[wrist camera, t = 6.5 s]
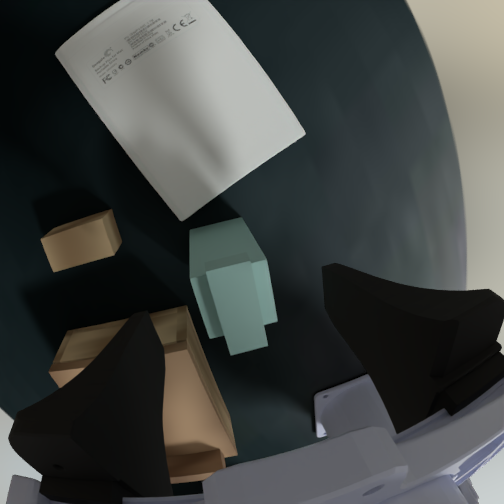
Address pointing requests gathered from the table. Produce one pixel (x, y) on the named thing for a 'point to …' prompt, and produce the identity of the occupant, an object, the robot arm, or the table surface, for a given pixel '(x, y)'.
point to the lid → (180, 416)
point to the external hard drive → (179, 96)
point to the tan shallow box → (98, 336)
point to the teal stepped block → (232, 284)
